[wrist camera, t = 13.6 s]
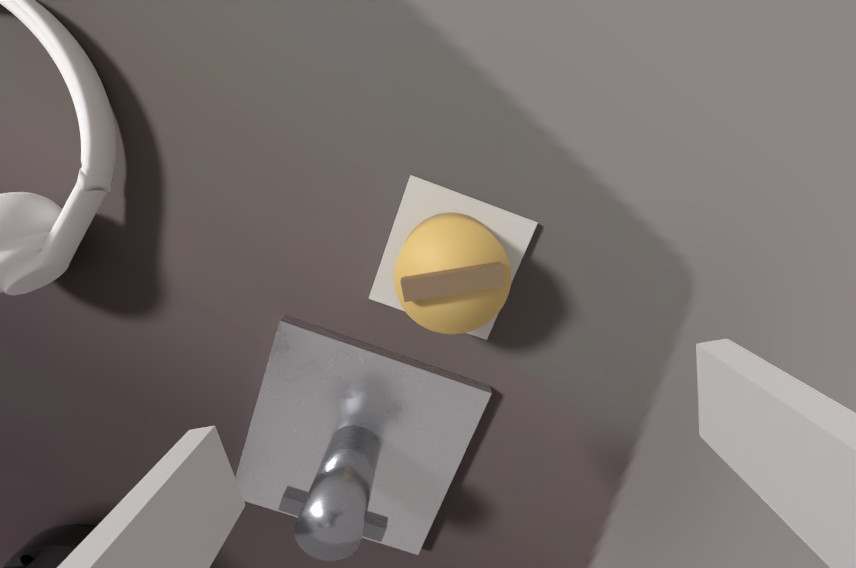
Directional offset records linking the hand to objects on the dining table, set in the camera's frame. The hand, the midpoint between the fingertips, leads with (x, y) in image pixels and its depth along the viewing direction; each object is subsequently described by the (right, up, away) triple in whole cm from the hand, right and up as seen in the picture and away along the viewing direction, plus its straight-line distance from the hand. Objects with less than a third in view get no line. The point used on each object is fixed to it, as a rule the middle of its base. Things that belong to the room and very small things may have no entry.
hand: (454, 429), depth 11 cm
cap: (+1, +6, +20) cm, 21 cm away
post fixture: (-7, -10, +25) cm, 28 cm away
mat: (+1, +6, +21) cm, 22 cm away
